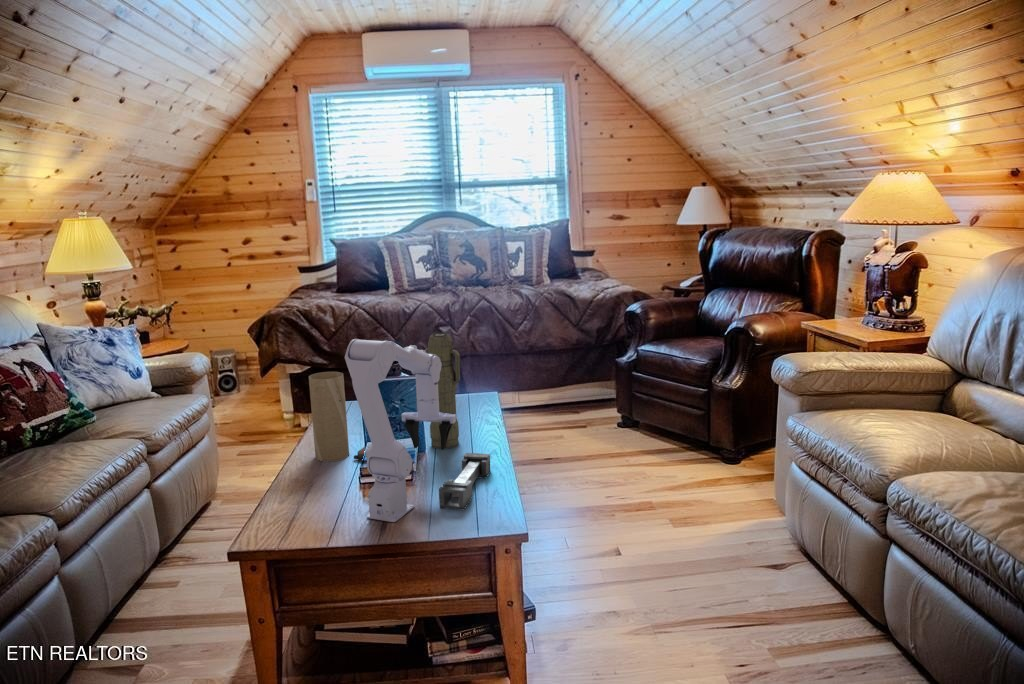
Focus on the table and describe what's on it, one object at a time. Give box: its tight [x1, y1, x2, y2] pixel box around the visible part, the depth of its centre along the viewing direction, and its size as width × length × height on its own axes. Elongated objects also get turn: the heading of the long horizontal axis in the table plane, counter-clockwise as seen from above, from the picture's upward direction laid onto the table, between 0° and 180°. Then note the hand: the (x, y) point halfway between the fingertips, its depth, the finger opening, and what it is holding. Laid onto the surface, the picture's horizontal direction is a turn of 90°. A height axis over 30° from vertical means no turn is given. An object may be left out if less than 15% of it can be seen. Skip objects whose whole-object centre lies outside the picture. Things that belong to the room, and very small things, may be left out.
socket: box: [461, 452, 491, 477], centre depth 197 cm, size 5×7×5 cm
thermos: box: [424, 332, 461, 450], centre depth 220 cm, size 9×12×35 cm
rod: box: [452, 460, 482, 497], centre depth 189 cm, size 18×3×3 cm, turn 168°
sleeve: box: [438, 478, 474, 510], centre depth 179 cm, size 8×6×5 cm
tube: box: [308, 371, 350, 463], centre depth 214 cm, size 10×10×25 cm
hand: (430, 447), depth 190 cm, fingers open, 7 cm apart
